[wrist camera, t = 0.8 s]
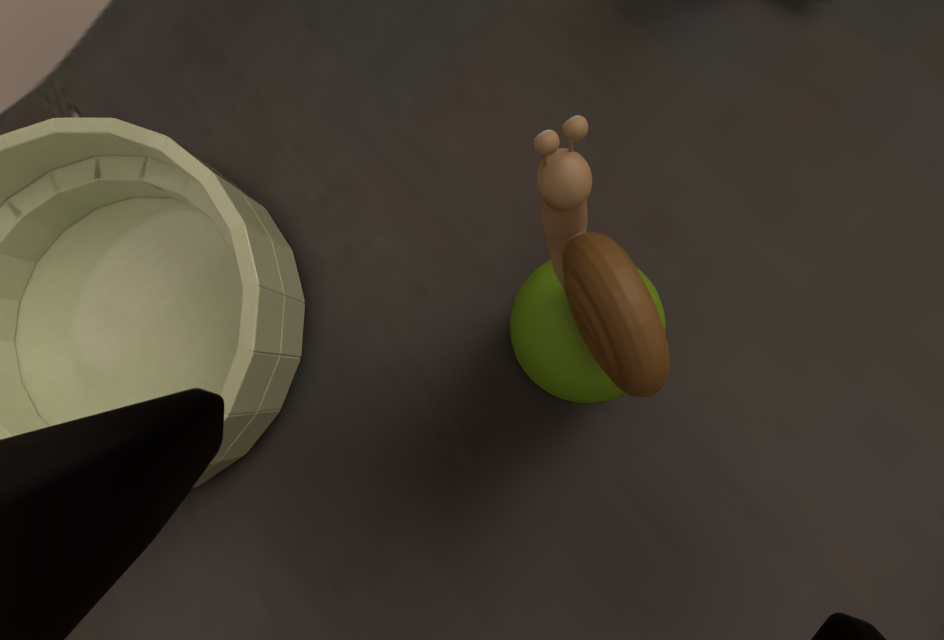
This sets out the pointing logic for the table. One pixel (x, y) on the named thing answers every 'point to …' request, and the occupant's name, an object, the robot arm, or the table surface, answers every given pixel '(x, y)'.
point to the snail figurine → (585, 295)
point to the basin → (137, 282)
